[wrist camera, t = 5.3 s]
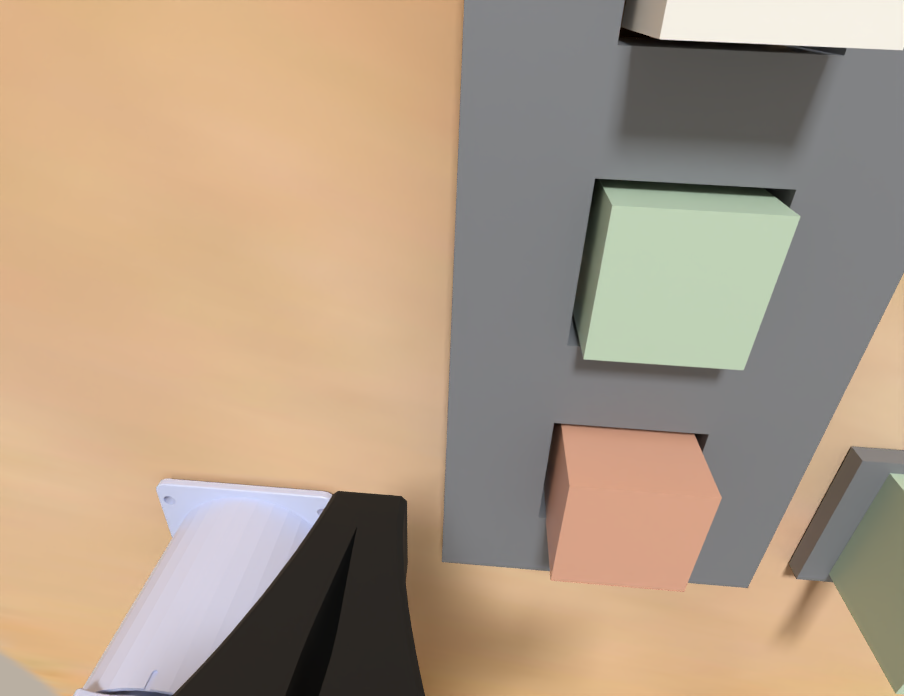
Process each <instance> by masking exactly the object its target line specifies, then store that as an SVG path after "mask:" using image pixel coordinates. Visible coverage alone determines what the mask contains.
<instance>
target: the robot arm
mask: <svg viewBox="0 0 904 696" xmlns="http://www.w3.org/2000/svg"><path fill="white" fill-rule="evenodd" d="M156 491H157V494H158V497H159V500H160V503H161V506H162V509H163V512H164V515H165V518H166V521H167V524H168V527H169V530H170V533H171V536H172V540H171V541H170V543H169V545H168V546H167V548H166V550H165V551H164V553H163V555H162V556H161V558H160V560H159V561H158V563H157V565H156V566H155V568H154V570H153V571H152V573H151V575H150V576H149V578H148V580H147V581H146V583H145V585H144V586H143V588H142V590H141V591H140V593H139V595H138V596H137V598H136V600H135V601H134V603H133V605H132V606H131V608H130V610H129V611H128V613H127V615H126V616H125V618H124V620H123V621H122V623H121V625H120V627H119V628H118V630H117V632H116V633H115V635H114V637H113V638H112V640H111V642H110V643H109V645H108V647H107V648H106V650H105V652H104V653H103V655H102V657H101V658H100V660H99V662H98V663H97V665H96V667H95V668H94V670H93V672H92V673H91V675H90V677H89V678H88V680H87V682H86V683H85V685H84V687H83V688H79V689H77V690H76V691H75V693H74V695H73V696H425V693H424V689H423V685H422V680H421V675H420V671H419V666H418V661H417V656H416V650H415V645H414V639H413V634H412V628H411V621H410V615H409V608H408V600H407V591H406V573H407V563H408V558H407V501H406V500H405V499H404V498H403V497H402V496H393V495H380V494H368V493H355V492H343V491H337V492H336V493H335V494H333V495H332V494H330V493H328V492H325V491H315V490H303V489H290V488H278V487H266V486H253V485H241V484H228V483H216V482H203V481H191V480H179V479H163V480H161V481H160V483H159V484H158V486H157V487H156ZM323 509H324V510H323Z"/></svg>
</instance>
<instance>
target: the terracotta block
mask: <svg viewBox="0 0 904 696" xmlns="http://www.w3.org/2000/svg"><path fill="white" fill-rule="evenodd" d="M544 495H545V507H546V530H547V542H548V554H549V566H550V579H551V580H552V581H563V582H575V583H587V584H598V585H610V586H622V587H633V588H645V589H656V590H668V591H680V592H684V591H685V588H686V586H687V583H688V581H689V578H690V576H691V573H692V571H693V568H694V566H695V563H696V561H697V558H698V556H699V553H700V551H701V549H702V546H703V544H704V541H705V539H706V536H707V534H708V531H709V529H710V526H711V524H712V521H713V519H714V516H715V514H716V511H717V509H718V506H719V504H720V501H721V499H722V497H721V495H720V493H719V490H718V488H717V486H716V483H715V481H714V479H713V476H712V474H711V472H710V469H709V467H708V465H707V462H706V460H705V458H704V455H703V453H702V451H701V448H700V446H699V444H698V442H697V439H696V437H695V435H694V433H683V432H669V431H656V430H642V429H629V428H615V427H602V426H588V425H575V424H561V423H555V426H554V431H553V437H552V443H551V449H550V455H549V461H548V467H547V473H546V479H545V485H544Z"/></svg>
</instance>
